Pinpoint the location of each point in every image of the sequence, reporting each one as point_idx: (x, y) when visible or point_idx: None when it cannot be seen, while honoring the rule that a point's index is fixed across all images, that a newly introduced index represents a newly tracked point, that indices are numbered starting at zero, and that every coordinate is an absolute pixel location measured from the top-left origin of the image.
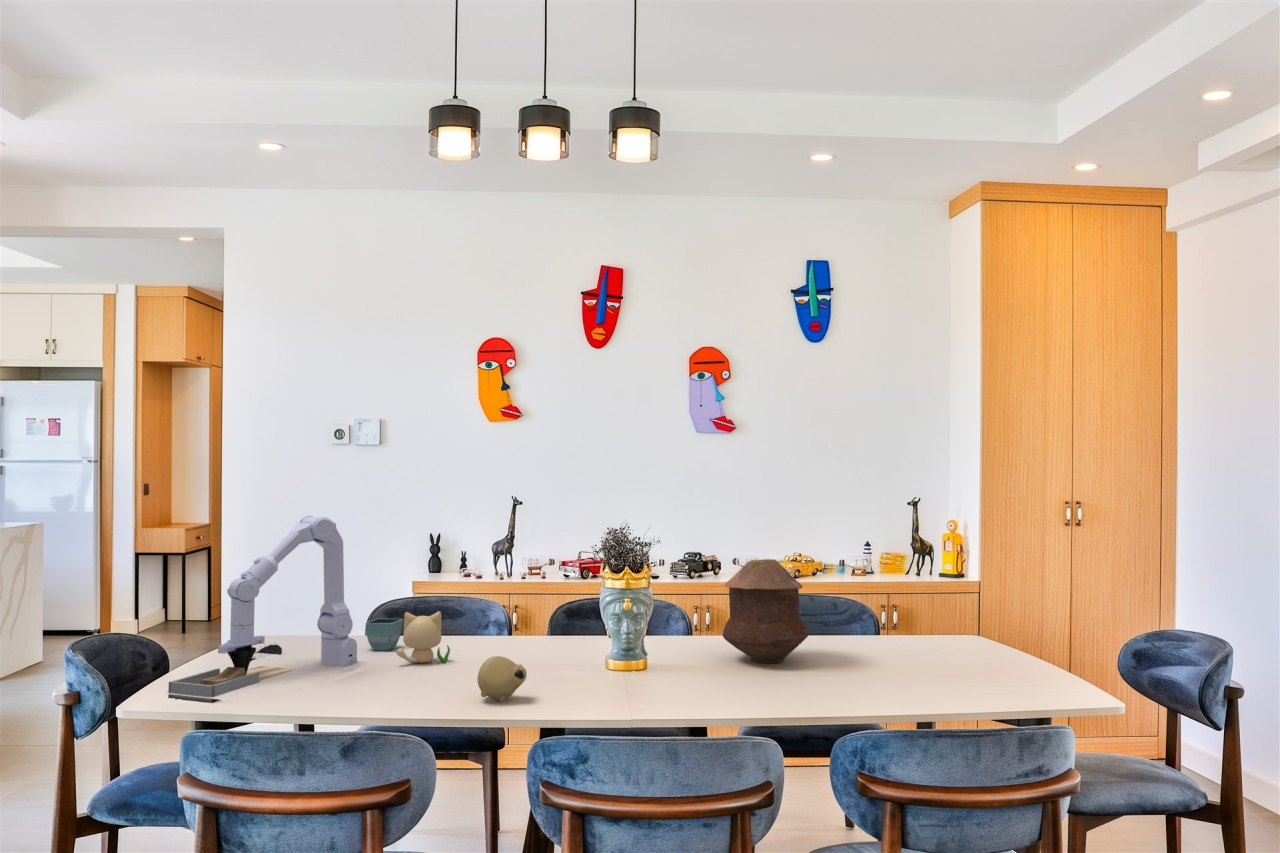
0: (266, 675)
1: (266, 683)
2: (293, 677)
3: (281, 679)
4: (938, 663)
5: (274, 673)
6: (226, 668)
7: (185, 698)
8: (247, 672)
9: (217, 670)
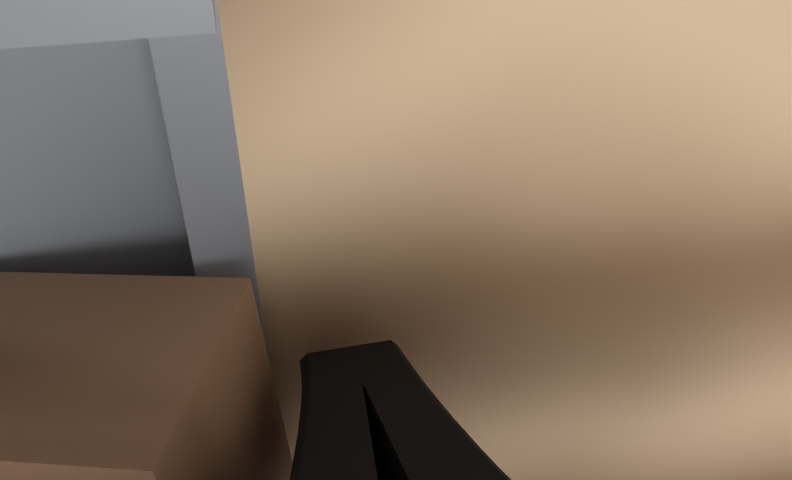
0: (612, 458)
1: None
2: None
3: None
4: None
5: (722, 448)
6: (80, 473)
7: None
8: (763, 100)
9: (105, 31)
